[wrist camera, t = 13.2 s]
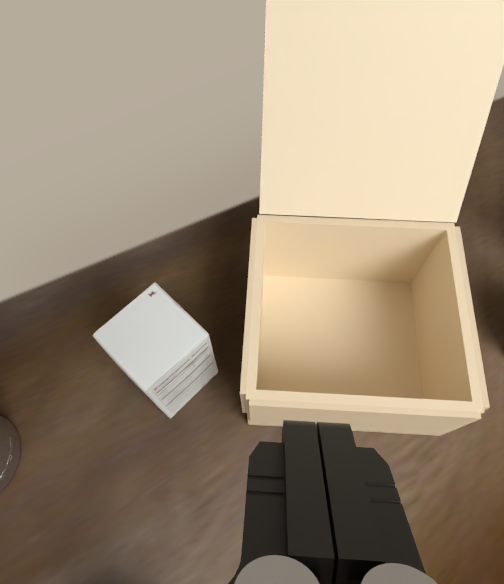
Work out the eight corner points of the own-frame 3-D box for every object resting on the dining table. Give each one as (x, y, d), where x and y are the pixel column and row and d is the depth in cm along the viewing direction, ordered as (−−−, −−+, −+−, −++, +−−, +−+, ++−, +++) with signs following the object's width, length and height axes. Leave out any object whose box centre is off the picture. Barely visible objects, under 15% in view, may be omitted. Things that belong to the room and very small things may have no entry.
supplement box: (126, 373, 50) (88, 332, 39) (177, 328, 52) (155, 278, 41) (169, 422, 48) (142, 394, 37) (221, 373, 50) (211, 332, 39)
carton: (242, 429, 48) (239, 404, 37) (253, 272, 56) (252, 214, 45) (437, 440, 47) (491, 419, 36) (419, 280, 55) (459, 223, 44)
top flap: (266, -13, 34) (267, -13, 34) (259, 213, 44) (259, 210, 44) (524, -6, 33) (520, -6, 34) (456, 222, 43) (454, 219, 44)
